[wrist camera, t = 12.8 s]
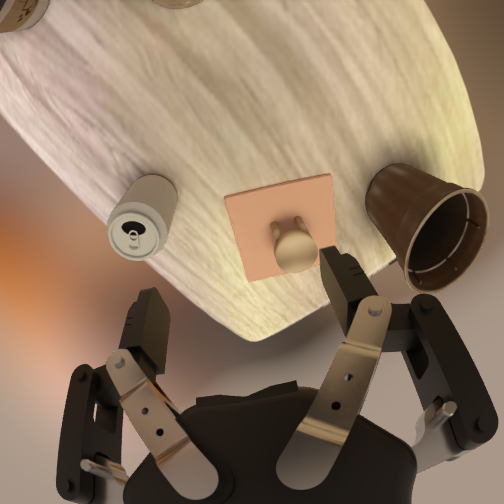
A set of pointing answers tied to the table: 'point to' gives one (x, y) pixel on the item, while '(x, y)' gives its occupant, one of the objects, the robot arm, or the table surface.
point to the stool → (294, 247)
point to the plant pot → (428, 225)
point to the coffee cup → (20, 14)
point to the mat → (280, 220)
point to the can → (142, 218)
